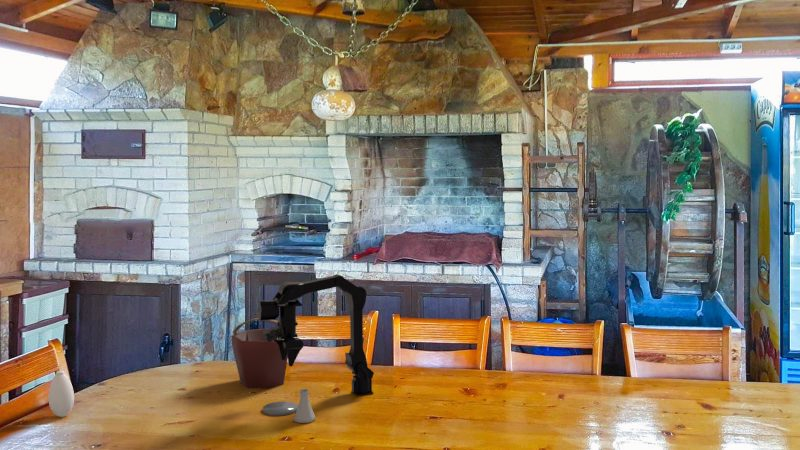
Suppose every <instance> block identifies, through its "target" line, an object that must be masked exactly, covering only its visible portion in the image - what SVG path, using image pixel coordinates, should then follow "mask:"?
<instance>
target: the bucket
mask: <svg viewBox="0 0 800 450" xmlns="http://www.w3.org/2000/svg"><path fill="white" fill-rule="evenodd" d="M256 321H259V320H258V317H254V318H251V319H249V320H246V321H244V322H242V323H240V324H238V325H237V326H236V327H235V328H234V329H233V330H232V334H233V335H231V347H232V351H233V355H234V359H235V364H236V369H237V374H238V377H239V382H240V384H241V385H242V386H244V387H245V388H247V389H258V388H259V390H260V389H264V390H267V389H271V388H275V387H279V386H283V385H284V383H285V377H286V373H287V372H286V369H287V364H288V363H287V362H288V356H286V359H285V360H282V358H281V354H280V349H279V345H278V344H277V343H276V342H275V341H274V340H272V341H271V342H267V341H266V340H265V338H264V335H263V331H264V330H267V329H269V328H258V329H257V328H256V329H246V330H242V331H240V332H239V330H240V329H241V328H242V327H243V326H244V325H246V324H247V323H251V322H256ZM278 321H279V320H277V319H276V320H260V322H266V323H269V324H274V325H275V326H277V322H278Z"/></svg>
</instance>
